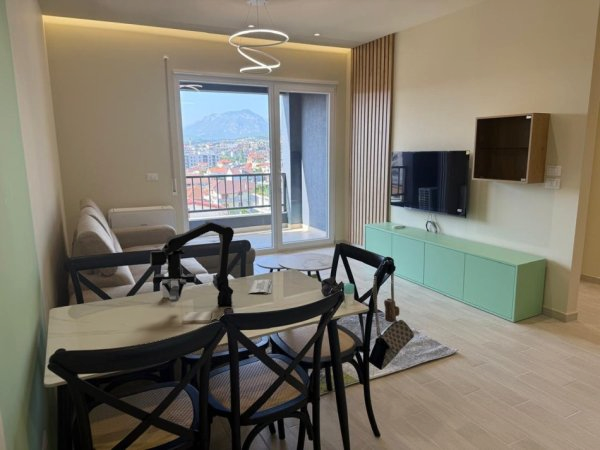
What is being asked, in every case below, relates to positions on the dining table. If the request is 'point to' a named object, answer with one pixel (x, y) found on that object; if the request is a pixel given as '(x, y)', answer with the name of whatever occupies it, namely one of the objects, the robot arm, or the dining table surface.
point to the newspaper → (261, 286)
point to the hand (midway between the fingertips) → (175, 296)
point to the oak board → (197, 317)
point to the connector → (174, 293)
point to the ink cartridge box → (173, 282)
